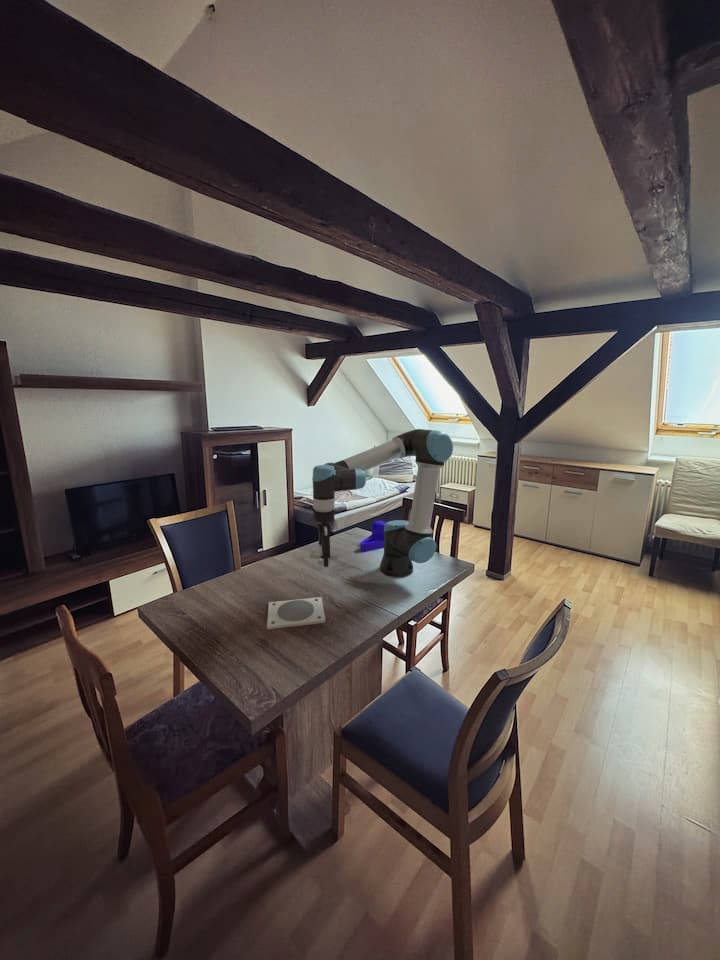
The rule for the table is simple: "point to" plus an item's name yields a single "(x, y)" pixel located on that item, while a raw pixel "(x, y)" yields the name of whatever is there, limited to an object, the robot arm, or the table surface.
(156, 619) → the table surface
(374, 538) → the bracket
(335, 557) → the pipe connector
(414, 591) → the table surface
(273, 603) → the duct panel
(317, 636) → the table surface
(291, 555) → the table surface
